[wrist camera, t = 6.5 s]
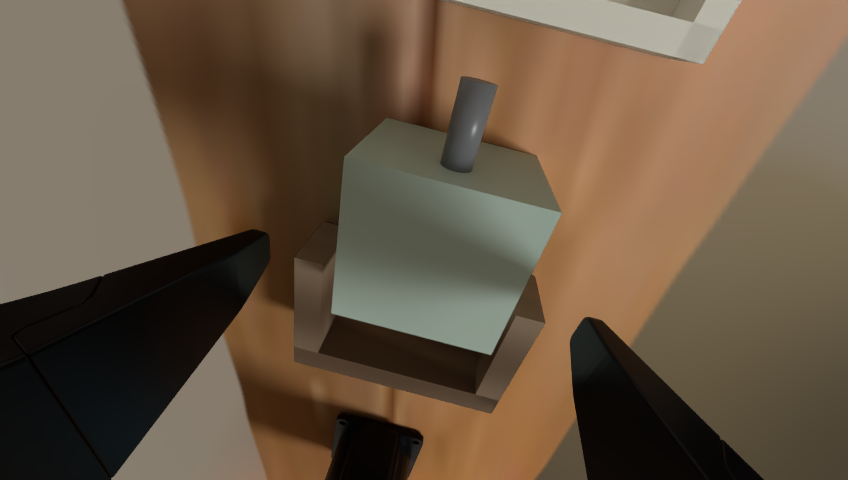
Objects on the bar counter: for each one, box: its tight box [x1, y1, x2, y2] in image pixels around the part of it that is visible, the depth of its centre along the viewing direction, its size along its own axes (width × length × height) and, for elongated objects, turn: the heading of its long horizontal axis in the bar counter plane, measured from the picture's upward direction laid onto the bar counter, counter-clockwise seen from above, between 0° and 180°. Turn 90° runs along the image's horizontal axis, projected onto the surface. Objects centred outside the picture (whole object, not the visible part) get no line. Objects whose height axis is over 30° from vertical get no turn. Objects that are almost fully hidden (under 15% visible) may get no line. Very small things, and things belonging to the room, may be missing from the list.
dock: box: [294, 222, 545, 413], centre depth 17 cm, size 7×10×3 cm, turn 78°
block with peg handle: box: [331, 76, 562, 355], centre depth 12 cm, size 8×6×5 cm
